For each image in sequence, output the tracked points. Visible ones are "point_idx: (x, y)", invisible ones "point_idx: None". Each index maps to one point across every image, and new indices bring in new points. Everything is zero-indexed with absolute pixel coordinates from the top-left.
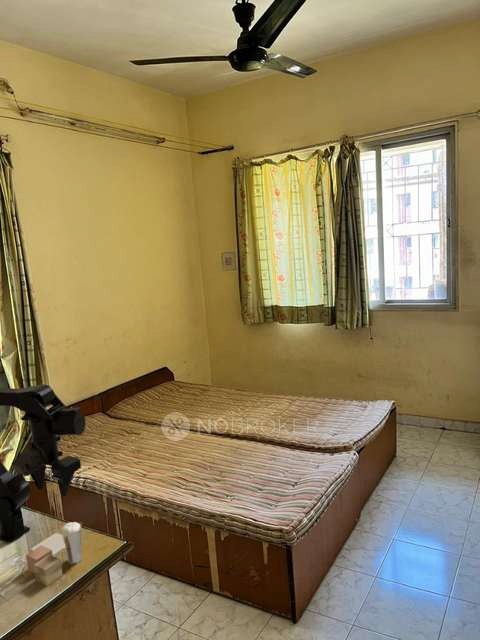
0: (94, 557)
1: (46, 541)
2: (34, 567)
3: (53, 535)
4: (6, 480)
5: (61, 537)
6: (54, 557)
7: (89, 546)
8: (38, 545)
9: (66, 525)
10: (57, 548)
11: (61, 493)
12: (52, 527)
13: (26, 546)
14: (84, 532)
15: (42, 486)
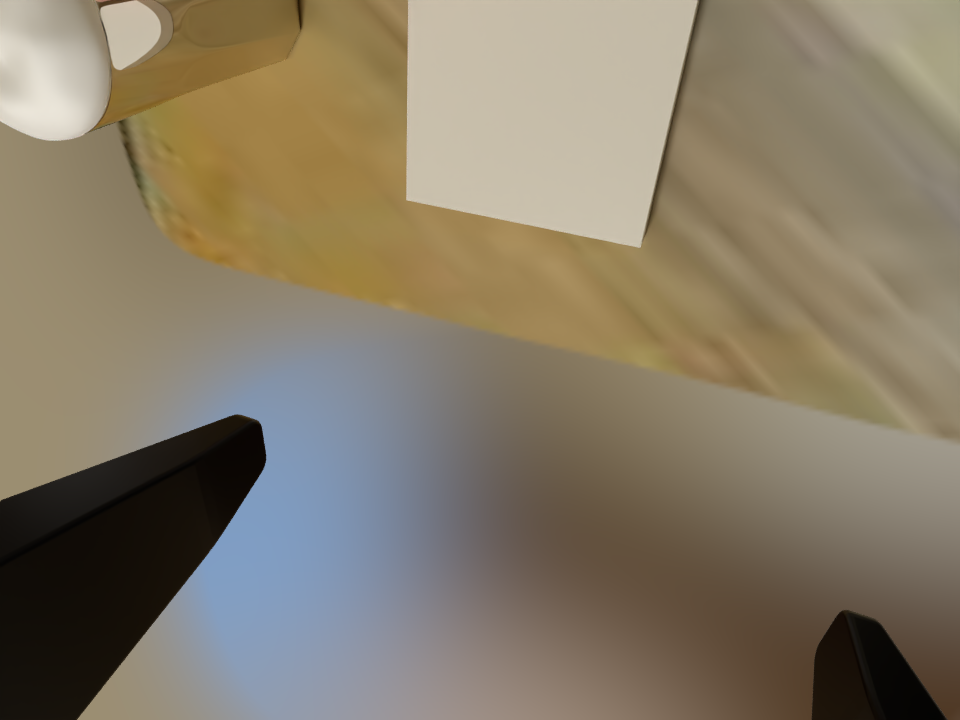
0: None
1: (631, 110)
2: None
3: (634, 208)
4: None
5: (537, 200)
6: None
7: (301, 183)
8: (668, 27)
9: None
10: (448, 54)
11: (186, 441)
12: (773, 333)
13: (848, 2)
14: (456, 315)
15: (820, 684)
